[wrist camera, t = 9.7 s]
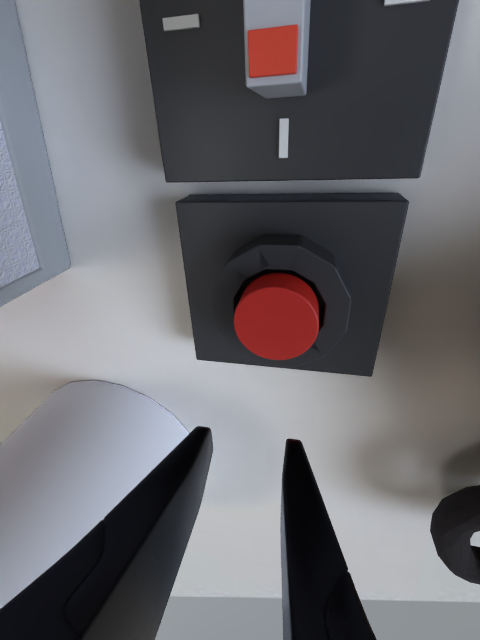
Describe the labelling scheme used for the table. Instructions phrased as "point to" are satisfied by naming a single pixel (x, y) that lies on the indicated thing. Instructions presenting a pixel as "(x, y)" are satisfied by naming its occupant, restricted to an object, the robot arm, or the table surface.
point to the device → (458, 532)
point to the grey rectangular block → (276, 46)
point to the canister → (73, 471)
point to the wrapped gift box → (24, 175)
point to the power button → (277, 316)
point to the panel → (298, 111)
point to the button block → (293, 269)
